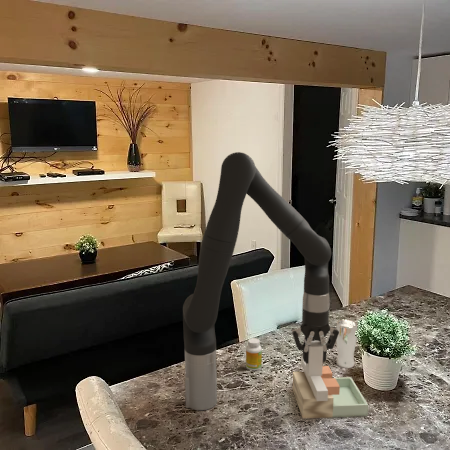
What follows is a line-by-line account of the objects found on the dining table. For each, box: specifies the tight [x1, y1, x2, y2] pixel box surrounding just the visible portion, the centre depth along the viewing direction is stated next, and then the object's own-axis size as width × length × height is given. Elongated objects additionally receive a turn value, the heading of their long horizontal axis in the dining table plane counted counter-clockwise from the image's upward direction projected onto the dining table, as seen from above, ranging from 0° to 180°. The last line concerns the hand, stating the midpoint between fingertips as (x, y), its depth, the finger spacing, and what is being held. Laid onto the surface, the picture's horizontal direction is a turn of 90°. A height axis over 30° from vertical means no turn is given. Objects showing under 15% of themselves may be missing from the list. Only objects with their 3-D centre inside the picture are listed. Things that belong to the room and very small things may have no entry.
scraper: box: [300, 340, 328, 401], centre depth 133 cm, size 4×20×12 cm, turn 3°
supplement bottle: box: [245, 337, 263, 371], centre depth 156 cm, size 5×5×10 cm
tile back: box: [321, 365, 334, 379], centre depth 138 cm, size 4×4×2 cm
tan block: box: [291, 371, 334, 420], centre depth 135 cm, size 8×15×6 cm, turn 3°
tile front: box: [322, 377, 340, 395], centre depth 131 cm, size 4×4×2 cm
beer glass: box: [336, 319, 358, 369], centre depth 157 cm, size 7×7×15 cm
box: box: [332, 376, 369, 418], centre depth 136 cm, size 10×15×4 cm, turn 3°
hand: (314, 361), depth 133 cm, fingers closed on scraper, 4 cm apart
